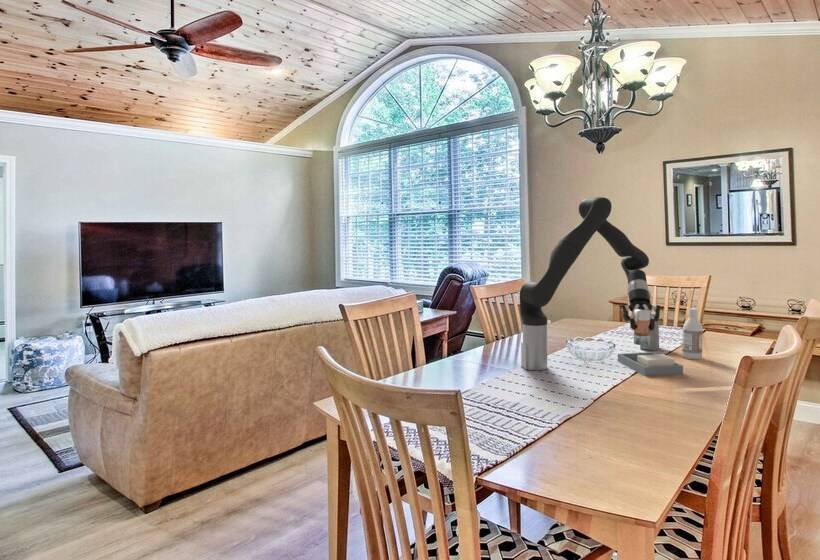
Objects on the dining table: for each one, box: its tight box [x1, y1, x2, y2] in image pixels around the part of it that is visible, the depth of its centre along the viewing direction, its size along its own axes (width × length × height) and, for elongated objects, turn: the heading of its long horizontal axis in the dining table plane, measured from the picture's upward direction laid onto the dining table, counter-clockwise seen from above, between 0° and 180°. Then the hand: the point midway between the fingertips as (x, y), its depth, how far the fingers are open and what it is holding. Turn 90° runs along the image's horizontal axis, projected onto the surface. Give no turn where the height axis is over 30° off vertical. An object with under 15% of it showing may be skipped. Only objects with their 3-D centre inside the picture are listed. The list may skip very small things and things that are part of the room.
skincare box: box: [639, 311, 660, 351], centre depth 221 cm, size 8×7×16 cm
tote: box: [617, 351, 684, 377], centre depth 188 cm, size 14×20×4 cm
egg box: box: [637, 353, 675, 367], centre depth 184 cm, size 10×7×5 cm
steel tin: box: [633, 309, 652, 346], centre depth 192 cm, size 6×6×13 cm
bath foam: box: [681, 307, 704, 361], centre depth 203 cm, size 7×7×20 cm
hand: (642, 328), depth 191 cm, fingers closed on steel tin, 5 cm apart
